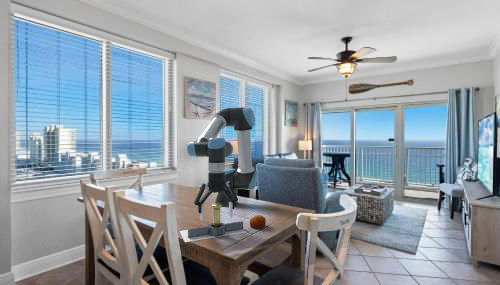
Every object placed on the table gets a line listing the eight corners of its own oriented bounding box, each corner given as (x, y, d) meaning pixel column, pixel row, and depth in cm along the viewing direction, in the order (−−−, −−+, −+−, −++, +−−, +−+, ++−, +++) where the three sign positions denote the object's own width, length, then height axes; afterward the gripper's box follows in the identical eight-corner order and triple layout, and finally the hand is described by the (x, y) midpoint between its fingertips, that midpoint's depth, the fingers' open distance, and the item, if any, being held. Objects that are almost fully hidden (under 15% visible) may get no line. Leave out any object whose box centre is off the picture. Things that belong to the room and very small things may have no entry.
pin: (210, 232, 118) (210, 204, 117) (219, 230, 119) (219, 203, 119) (213, 235, 114) (213, 206, 113) (222, 234, 115) (222, 205, 115)
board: (179, 233, 119) (179, 230, 119) (235, 225, 131) (235, 222, 130) (184, 245, 106) (184, 242, 106) (246, 234, 118) (246, 232, 118)
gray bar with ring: (186, 234, 115) (186, 226, 115) (239, 226, 125) (239, 219, 125) (189, 240, 107) (189, 232, 107) (246, 231, 118) (246, 224, 118)
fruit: (255, 231, 118) (251, 214, 122) (249, 235, 124) (246, 218, 128) (270, 228, 121) (266, 212, 125) (264, 232, 128) (260, 216, 131)
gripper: (190, 174, 107) (190, 224, 108) (245, 171, 118) (245, 217, 118) (187, 172, 114) (187, 219, 115) (239, 169, 125) (238, 212, 125)
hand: (216, 218), depth 116 cm, fingers open, 13 cm apart
